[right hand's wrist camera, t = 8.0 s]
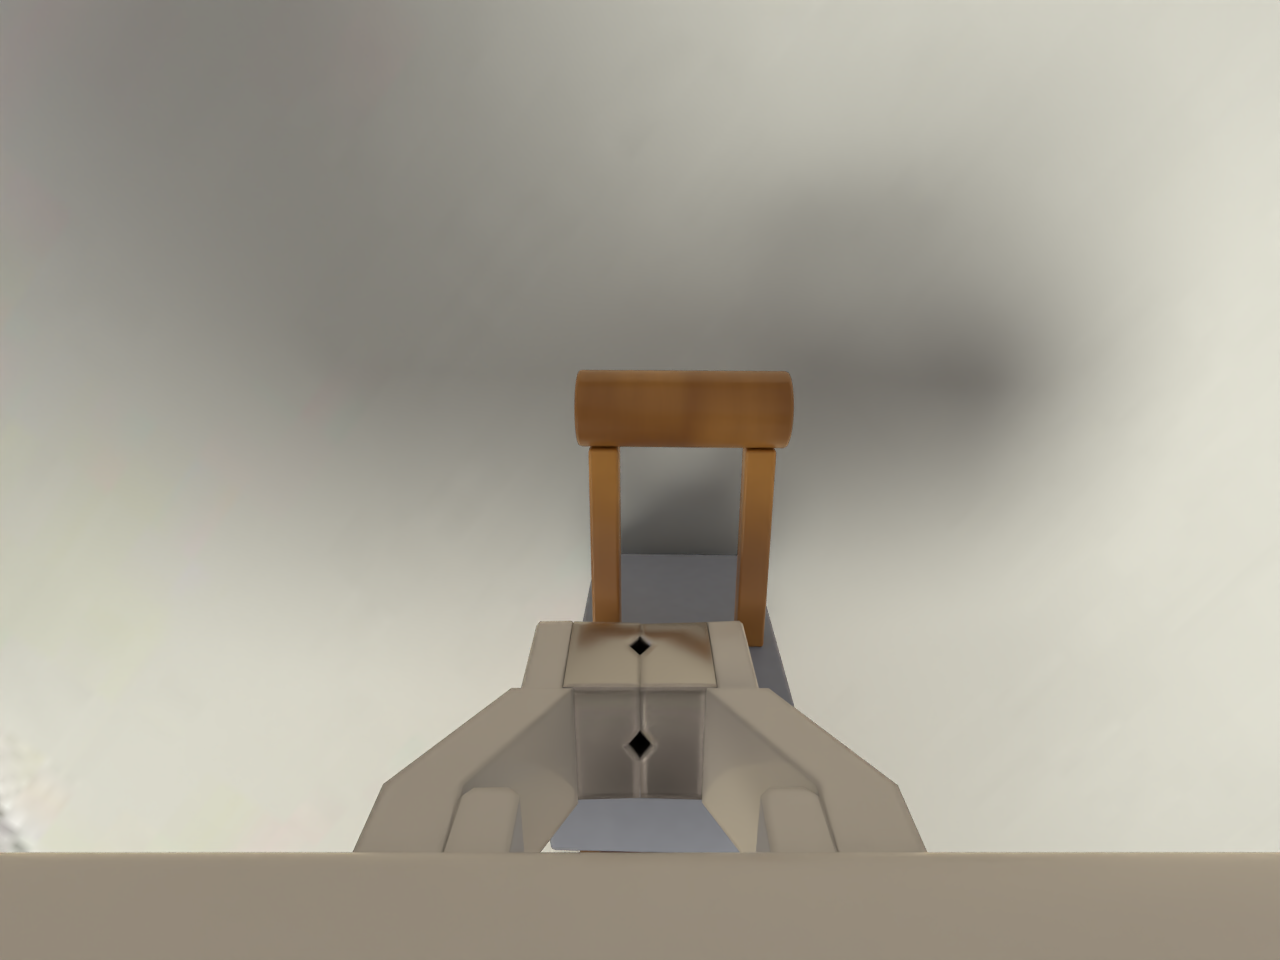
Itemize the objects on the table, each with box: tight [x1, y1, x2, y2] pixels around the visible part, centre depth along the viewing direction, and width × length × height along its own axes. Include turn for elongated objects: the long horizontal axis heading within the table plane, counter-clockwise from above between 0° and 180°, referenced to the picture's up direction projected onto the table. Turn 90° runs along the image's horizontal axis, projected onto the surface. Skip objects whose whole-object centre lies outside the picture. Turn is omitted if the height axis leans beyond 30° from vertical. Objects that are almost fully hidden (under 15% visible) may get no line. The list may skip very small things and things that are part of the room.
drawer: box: [550, 370, 795, 853], centre depth 18 cm, size 26×4×9 cm, turn 0°
